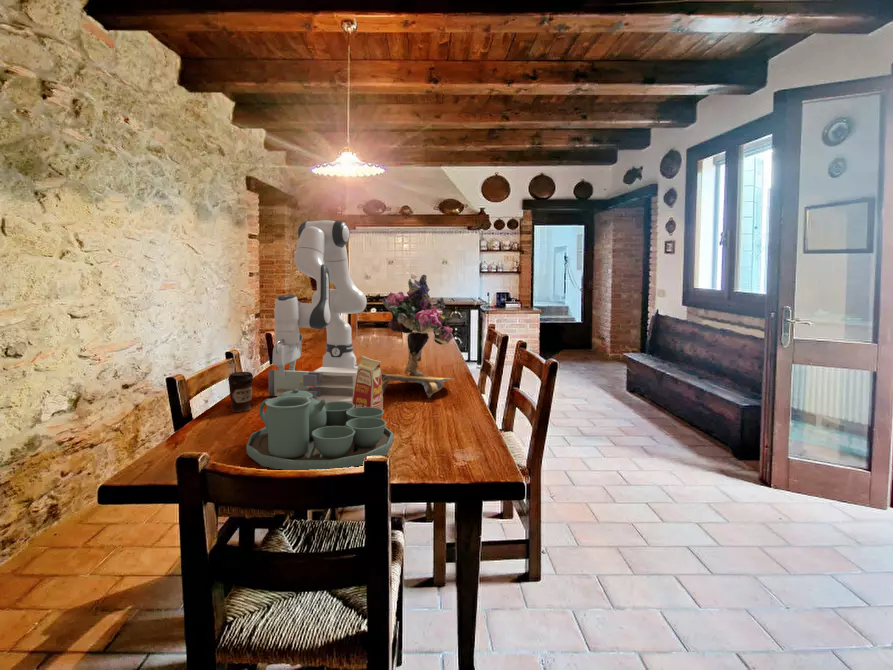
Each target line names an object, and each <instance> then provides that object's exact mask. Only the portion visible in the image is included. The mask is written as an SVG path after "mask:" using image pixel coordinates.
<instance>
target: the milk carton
mask: <svg viewBox="0 0 893 670" xmlns="http://www.w3.org/2000/svg"><path fill="white" fill-rule="evenodd" d="M361 358H362V359H361V361H360V362H359V364H358V365H357V366H358V371H357V375H356V379H355V384H354V390H353V396H352V404H353V405H355V407H354V408H357V407H375V408H379V409H382V410H383V411H384V409H383V408H384V396H383V394H382V379H381V375H382V373H381V372H382V371H381V363H382V361H381V360H376V359H371V358H369V357H367V356H364V355H361Z"/></svg>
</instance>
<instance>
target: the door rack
mask: <svg viewBox="0 0 893 670" xmlns="http://www.w3.org/2000/svg"><path fill="white" fill-rule="evenodd" d="M287 391H293V390H283V389H277V397H278V396H279V395H280V394H282V393H283V392H287ZM301 391H303V390H301Z"/></svg>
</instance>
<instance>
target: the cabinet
mask: <svg viewBox="0 0 893 670" xmlns="http://www.w3.org/2000/svg"><path fill="white" fill-rule="evenodd" d="M308 371H309V370H308ZM357 371H358V368H336V367H323V366H320V367H318V368H317V369H315V370H311V371H309V372H307V373H306V374H304V375H303V386H309V388H308V389H306V390H305V391H307V392H310V393H311V394H312V395H313V396H312V398H313V399H316V400H318V401H321V400H322V399H324V400H325V401H326V403H327V402H337V401H339V402H348V403H352V396H353V390H354V384H355V379H356V375H357Z"/></svg>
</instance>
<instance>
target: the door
mask: <svg viewBox="0 0 893 670" xmlns="http://www.w3.org/2000/svg"><path fill="white" fill-rule="evenodd" d="M284 370H285V372H286V375H285V376H284V377H280V372H279V370H278V369H269V370H268V397H270V396H273V397H274V396H277V389H283V390H293V389H298V390H303V391H305V390H306V389H308V388H309V387H310V386H303V375H304V374H306V373H307V372H309V370H307V371H306V370H295V371H289V369H288V370H287V369H284Z"/></svg>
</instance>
